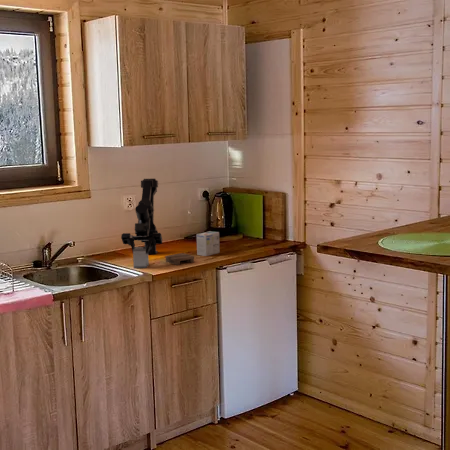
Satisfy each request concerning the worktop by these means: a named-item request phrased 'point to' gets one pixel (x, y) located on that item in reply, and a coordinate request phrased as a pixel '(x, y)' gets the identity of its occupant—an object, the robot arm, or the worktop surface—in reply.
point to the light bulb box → (208, 243)
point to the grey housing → (140, 257)
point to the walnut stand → (179, 258)
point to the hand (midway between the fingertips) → (140, 253)
